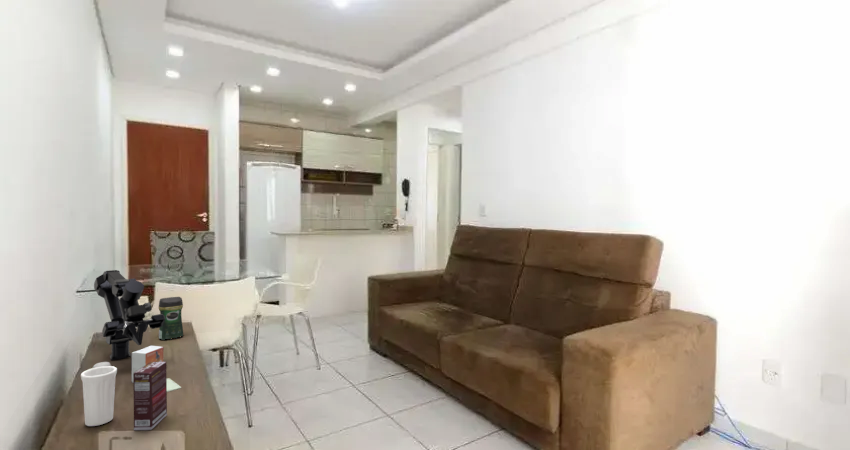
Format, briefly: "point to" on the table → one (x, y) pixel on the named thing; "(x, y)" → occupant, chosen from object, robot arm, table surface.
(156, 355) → the small box
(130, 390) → the table surface
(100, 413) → the cup
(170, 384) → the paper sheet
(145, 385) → the supplement box
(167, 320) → the coffee jar
